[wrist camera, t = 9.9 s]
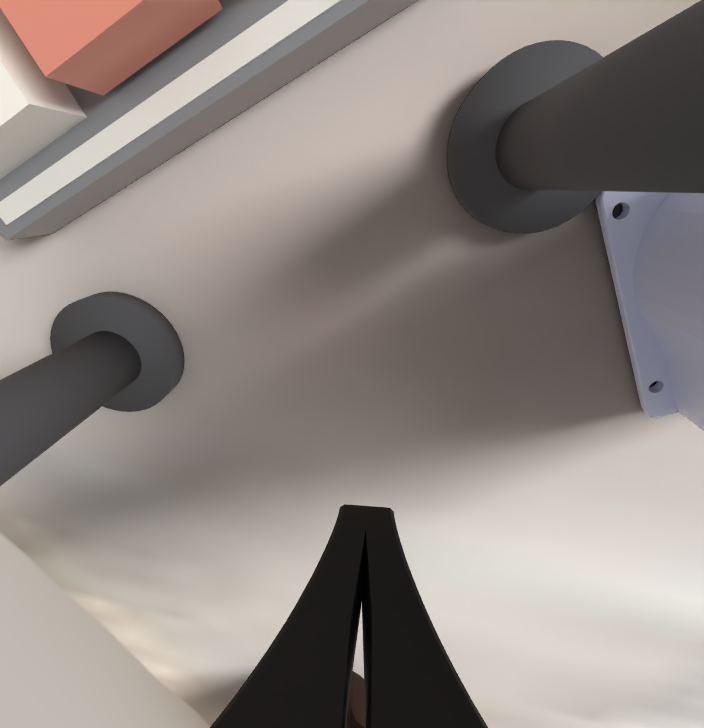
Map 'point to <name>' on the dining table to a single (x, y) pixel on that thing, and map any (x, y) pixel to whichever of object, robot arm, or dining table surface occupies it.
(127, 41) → the block
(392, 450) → the dining table surface
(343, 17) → the breaker panel
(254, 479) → the dining table surface
